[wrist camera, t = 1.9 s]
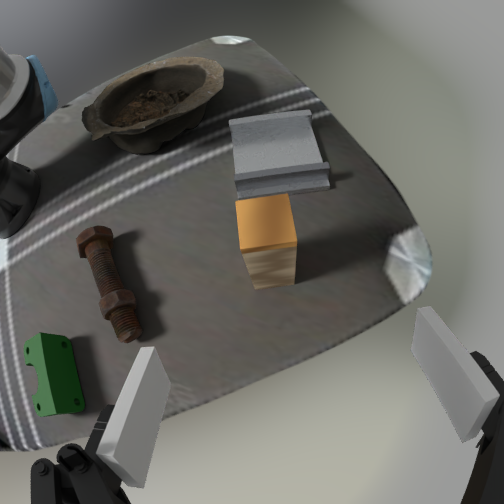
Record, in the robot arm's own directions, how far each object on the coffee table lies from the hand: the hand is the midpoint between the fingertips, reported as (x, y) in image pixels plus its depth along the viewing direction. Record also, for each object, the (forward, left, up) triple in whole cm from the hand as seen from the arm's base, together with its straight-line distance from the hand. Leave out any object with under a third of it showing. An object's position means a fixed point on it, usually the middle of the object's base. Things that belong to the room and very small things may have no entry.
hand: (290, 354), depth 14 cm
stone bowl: (-15, +42, -19) cm, 49 cm away
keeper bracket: (+3, +27, -19) cm, 33 cm away
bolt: (-21, +11, -20) cm, 31 cm away
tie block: (0, +11, -19) cm, 22 cm away
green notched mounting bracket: (-30, -1, -20) cm, 36 cm away
